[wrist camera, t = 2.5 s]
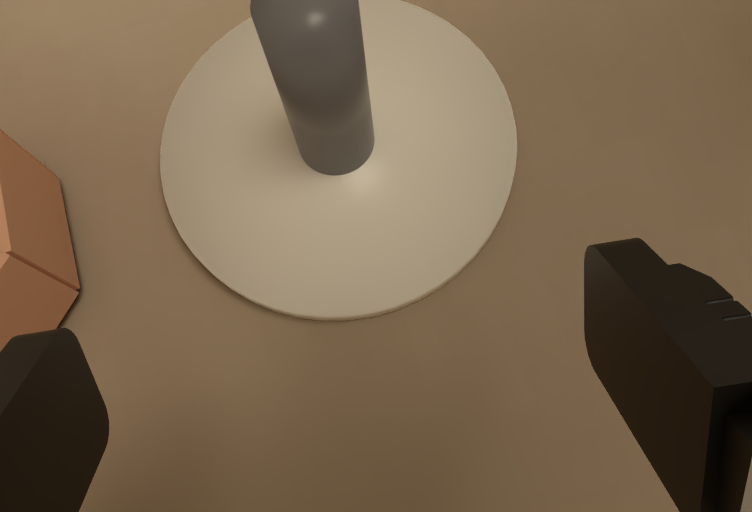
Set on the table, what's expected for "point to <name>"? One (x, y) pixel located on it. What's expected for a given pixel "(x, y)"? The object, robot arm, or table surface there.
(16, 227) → the bowl
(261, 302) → the lid
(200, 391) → the table surface
